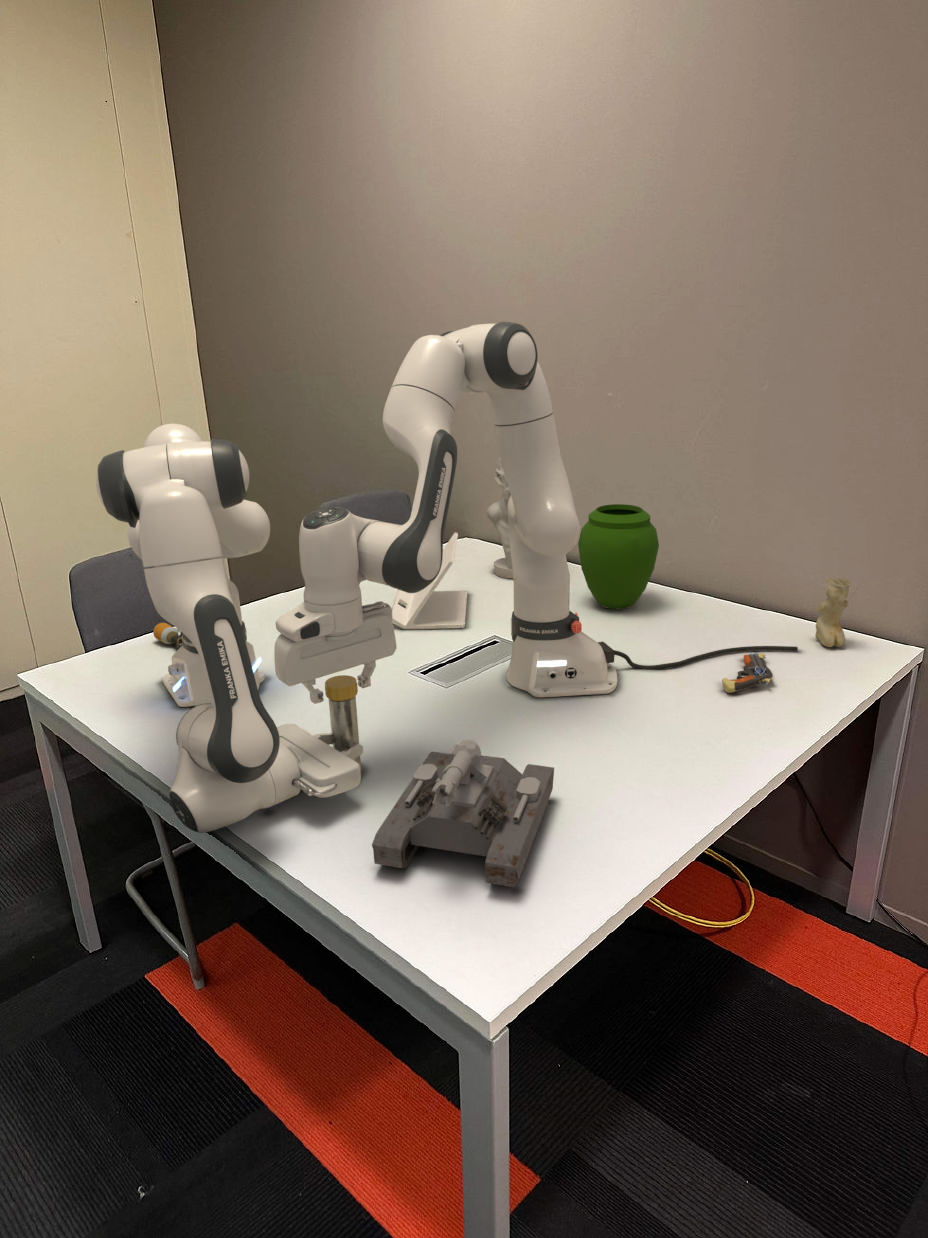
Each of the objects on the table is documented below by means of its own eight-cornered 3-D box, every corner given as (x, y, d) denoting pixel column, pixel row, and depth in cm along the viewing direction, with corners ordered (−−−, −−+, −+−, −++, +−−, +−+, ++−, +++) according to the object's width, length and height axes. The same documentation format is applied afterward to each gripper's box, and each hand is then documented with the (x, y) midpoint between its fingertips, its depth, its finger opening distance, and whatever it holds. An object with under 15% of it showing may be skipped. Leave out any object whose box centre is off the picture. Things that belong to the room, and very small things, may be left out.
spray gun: (191, 623, 212) (240, 633, 206) (141, 643, 198) (191, 654, 192) (190, 607, 211) (239, 616, 205) (139, 626, 196) (190, 637, 190)
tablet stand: (467, 593, 225) (465, 531, 219) (465, 628, 202) (462, 559, 196) (399, 594, 226) (395, 532, 220) (388, 629, 203) (384, 560, 197)
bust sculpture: (503, 593, 225) (502, 460, 212) (483, 567, 247) (480, 445, 234) (562, 587, 228) (563, 456, 215) (536, 562, 250) (536, 441, 237)
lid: (350, 684, 140) (349, 672, 140) (362, 696, 136) (361, 683, 135) (321, 691, 138) (320, 679, 137) (332, 703, 134) (331, 691, 133)
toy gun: (724, 683, 164) (779, 680, 162) (715, 651, 182) (764, 648, 180) (725, 696, 165) (779, 693, 163) (715, 663, 183) (764, 660, 180)
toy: (433, 778, 139) (429, 695, 134) (554, 794, 134) (555, 708, 128) (373, 873, 117) (366, 778, 111) (516, 898, 111) (515, 799, 106)
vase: (599, 587, 227) (601, 497, 218) (668, 600, 216) (673, 505, 208) (562, 608, 212) (564, 513, 204) (634, 623, 202) (639, 523, 193)
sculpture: (821, 649, 184) (830, 583, 179) (808, 637, 191) (816, 573, 185) (848, 649, 184) (858, 582, 179) (834, 636, 191) (843, 572, 185)
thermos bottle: (366, 772, 142) (359, 685, 136) (343, 781, 139) (335, 693, 134) (353, 762, 145) (346, 677, 139) (330, 770, 143) (322, 684, 137)
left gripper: (312, 780, 124) (387, 746, 133) (242, 732, 138) (315, 705, 147) (315, 817, 126) (390, 781, 135) (247, 766, 140) (318, 737, 149)
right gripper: (380, 593, 141) (385, 670, 146) (265, 623, 129) (275, 705, 134) (401, 603, 136) (405, 682, 141) (283, 635, 125) (293, 719, 129)
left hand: (350, 741), depth 141 cm, fingers closed on thermos bottle, 4 cm apart
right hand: (341, 693), depth 137 cm, fingers open, 7 cm apart
